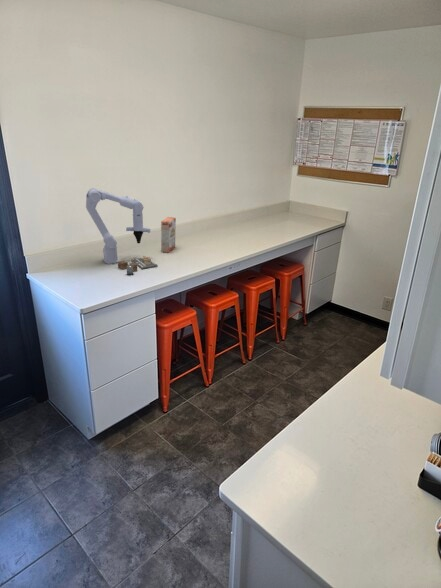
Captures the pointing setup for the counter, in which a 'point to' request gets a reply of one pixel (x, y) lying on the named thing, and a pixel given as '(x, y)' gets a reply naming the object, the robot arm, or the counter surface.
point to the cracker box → (168, 234)
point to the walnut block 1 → (122, 265)
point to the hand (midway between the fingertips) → (138, 242)
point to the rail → (143, 266)
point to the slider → (146, 260)
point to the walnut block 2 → (134, 266)
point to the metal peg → (129, 269)
